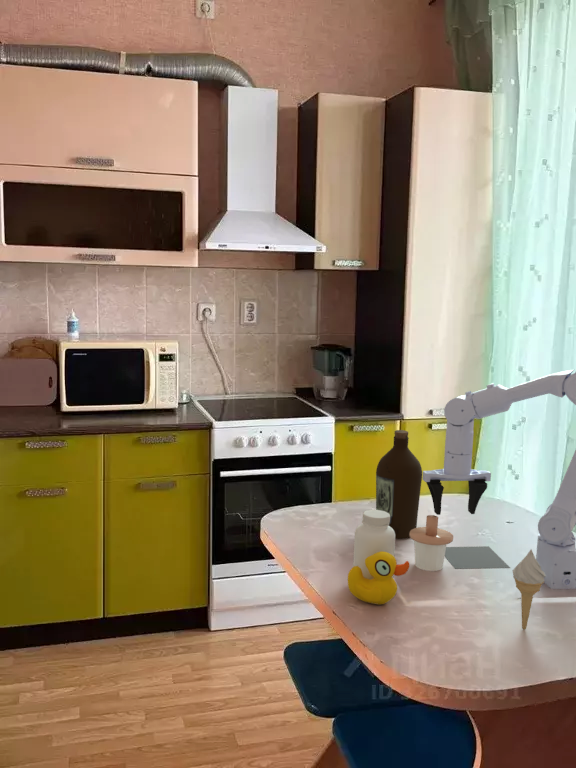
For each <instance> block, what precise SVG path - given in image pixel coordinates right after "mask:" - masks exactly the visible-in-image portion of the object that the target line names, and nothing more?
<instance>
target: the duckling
mask: <svg viewBox="0 0 576 768" xmlns="http://www.w3.org/2000/svg"><path fill="white" fill-rule="evenodd" d="M397 563H398V562H397V559H396V557H395V555H394V556H393V555H391V554H390V553H388V552H384V551H381V552H377V553H375V554H373V555H371V556H369V557H367V558H366V559H365V565H366V567H367V568H368V571H369V573H370V574H371V575H372V576H373V577H374V578H373V579H367V578H365V577H364V576H363V573H362V570H361V568H360V567H358V566H354V567H353V566H352V568H351V569H350V570H349V571H348V574H347V587H348V591H349V592H350V593H351V594H352V595H353V596H354V597H355V598H357V599H359V600H360V601H362V602H364V603H368V604H373V605H384V604H386V603H388V602H390V601H392V599H394V597H395V596H396V594H397V591H398V584H397V582H396V580H395V579H394V576H397V577H401V576H403V575H406V573H407V572H408V570H409V568H410V562H409V561H408V560H406V561H405V562H404V563H402V564H401V563H400V564H397ZM392 576H393V578H392Z"/></svg>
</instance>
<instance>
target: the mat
mask: <svg viewBox="0 0 576 768" xmlns="http://www.w3.org/2000/svg"><path fill="white" fill-rule="evenodd" d="M444 558H445V559H446V560H447V561H448V562H449V563H450V565H451V566H452V567H453V569H455V570H468V569H469V570H470V569H471V570H472V569H475V570H476V569H511V567H510V566H509V565H508V563H506V562H505V561H504V560H503V559H502V558H501V557H500V556H499V555H498V554H497V553H496V552H495V551H494V550H493V549H492V548H491V547H490V546H489V545H488V546H487V545H486V546H481V545H479V546H446V551H445V557H444Z"/></svg>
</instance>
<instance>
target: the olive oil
mask: <svg viewBox="0 0 576 768" xmlns="http://www.w3.org/2000/svg"><path fill="white" fill-rule="evenodd" d="M393 434H394V436H393V446H392V447H391V448H390V450H388V451H387V453H385V454H384V455H383V456H382V457H381V458H380V459H379V461H378V462H377V466H376V470H375V510H381V511H385V512H387V513H389V514H390V523H389V526H390V527H391V528H392V529H393V530H394V532H395V540H407V539H411V538H410V536H409V533H410V531H411V530H412V529H414V528H418V514H419V507H420V506H419V505H420V497H421V491H422V490H421V489H422V481H423V469H422V464H421V463H420V461H419V459H418V458H417V457H416V456H415V455H414V453H413V452H412V450H410V449H409V439H410V438H409V431H407V430H403V429H397V430H395V431H394V433H393Z"/></svg>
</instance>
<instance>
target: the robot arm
mask: <svg viewBox="0 0 576 768" xmlns="http://www.w3.org/2000/svg"><path fill="white" fill-rule="evenodd" d="M574 371H575V369H568V370H564V371H558V372H553V373H550V374H546V375H544V376H541V377H538V378H535V379H532V380H530V381H526V382H523V383H520V384H517V385H514V386H511V387H506V386H504V385H502V384H496V385H495V383H494V382H492V383H489V384H487V385H486V388H483V389H479V390H477V391H471V390H468V391H466V392H465V393H464V394H462V395H457V396H455V397H453V398H452V399H450V400H449V401H448V402H447V403H446V404H445V406H444V409H443V414H444V417H445V419H446V420H447V421H446V430H445V440H444V441H445V442H444V443H445V444H444V458H443V459H444V460H443V468H439V469H432V470H422V481H424V482H425V484H426V485H427V487H428V489H429V493H430V495H431V500H432V504H433V511H434V513H435V514H436V516H440V515H441V511H442V501H443V500H442V497H443V493H444V489H445V487H444V486H443V485H442V482H459V481H460V482H462V481H463V482H464V481H466V482H467V481H468V503H467V511H468V512H469V514H471V515H475V514H476V510H477V507H478V504H479V502H480V500H481V498H482V496H483V494H484V493H485V491H486V490H487V489H488V482H491V479H492V478H491V477H492V472H491V471H489V470H484V469H482V470H481V469H473V468H472V463H473V462H472V458H473V447H474V446H473V445H474V424H475V420H474V419H477V420H481V419H483V418H484V419H485V418H487V417H490V416H491V417H492V416H495V415H497V414H502V413H505V412H508V411H509V410H510V408H511V406H512V404H514V403H517V402H521V401H525V400H529V399H532V398H536V397H540V396H545V395H549V394H551V395H553V396H556V397H558V398H563V397H564V396H566V397H567V398H568V400H569V401H570V402H571V403H572V404H573V405H574V406H576V371H575V372H574ZM566 469H567V470H566V472H565V474H564V477H563V479H562V481H561V483H560V486H559V488H558V491H557V493H556V495H555V497H554V499H553V501H552V503H551V504H549V506H547V508H546V510H545V513H544V514H543V515H542V516H541V517H540V519H539V520H538V522H537V531H538V533H537V542H536V543H537V544H536V552H535V553H536V555H535V559H536V560H537V562H538V563H539V565H540V566H541V570H542V571H543V572H544V573H545V575H546V577H544V583H543V584H545V585H546V586H547V587H548V588H550V589H551V590H565V589H566V590H568V589H569V590H572V589H573V590H575V589H576V537H575V534H574V533H573V529H574V528H575V526H576V449H575V451H574V453H573V455H572V457H571V460H570V462H569V465H568V467H567V468H566Z"/></svg>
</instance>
